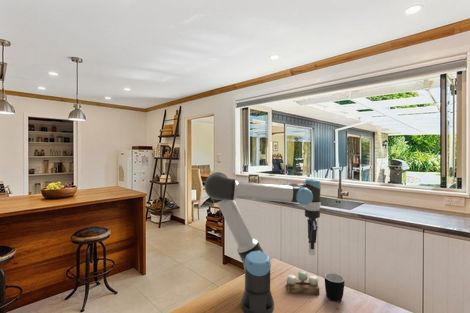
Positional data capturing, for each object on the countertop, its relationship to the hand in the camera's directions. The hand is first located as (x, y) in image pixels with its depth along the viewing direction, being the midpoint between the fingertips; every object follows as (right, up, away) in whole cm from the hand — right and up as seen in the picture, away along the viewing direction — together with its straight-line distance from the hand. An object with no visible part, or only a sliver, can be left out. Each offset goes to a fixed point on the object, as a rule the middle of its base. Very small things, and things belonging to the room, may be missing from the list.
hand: (311, 254), depth 129 cm
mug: (+9, -18, -6) cm, 21 cm away
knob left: (-10, -17, 0) cm, 20 cm away
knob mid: (-5, -15, -1) cm, 15 cm away
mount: (-5, -18, 0) cm, 19 cm away
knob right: (+1, -17, -1) cm, 17 cm away
